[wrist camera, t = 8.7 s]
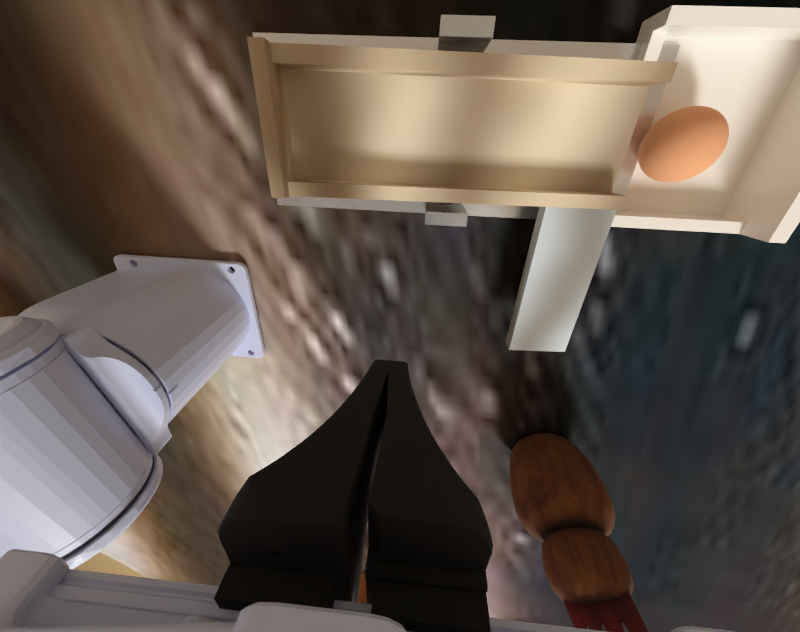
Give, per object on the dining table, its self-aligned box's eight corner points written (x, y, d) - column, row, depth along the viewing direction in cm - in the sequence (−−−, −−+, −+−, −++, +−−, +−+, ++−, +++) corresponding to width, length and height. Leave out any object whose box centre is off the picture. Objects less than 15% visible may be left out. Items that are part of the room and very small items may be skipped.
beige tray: (309, 335, 21) (296, 361, 18) (273, 46, 13) (244, 25, 11) (558, 343, 21) (579, 370, 18) (656, 65, 14) (712, 48, 11)
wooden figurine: (583, 421, 27) (734, 692, 13) (575, 464, 29) (695, 725, 16) (501, 425, 27) (568, 681, 14) (501, 466, 30) (557, 714, 17)
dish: (580, 218, 19) (611, 233, 15) (642, 21, 14) (702, -13, 11) (723, 225, 18) (785, 243, 15) (831, 26, 14) (949, -8, 11)
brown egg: (690, 182, 16) (621, 177, 17) (724, 109, 15) (646, 109, 16) (719, 188, 14) (636, 182, 15) (763, 101, 12) (667, 101, 13)
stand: (281, 203, 20) (246, 218, 16) (258, 36, 16) (203, 1, 12) (609, 221, 19) (656, 241, 15) (671, 48, 15) (758, 14, 11)
